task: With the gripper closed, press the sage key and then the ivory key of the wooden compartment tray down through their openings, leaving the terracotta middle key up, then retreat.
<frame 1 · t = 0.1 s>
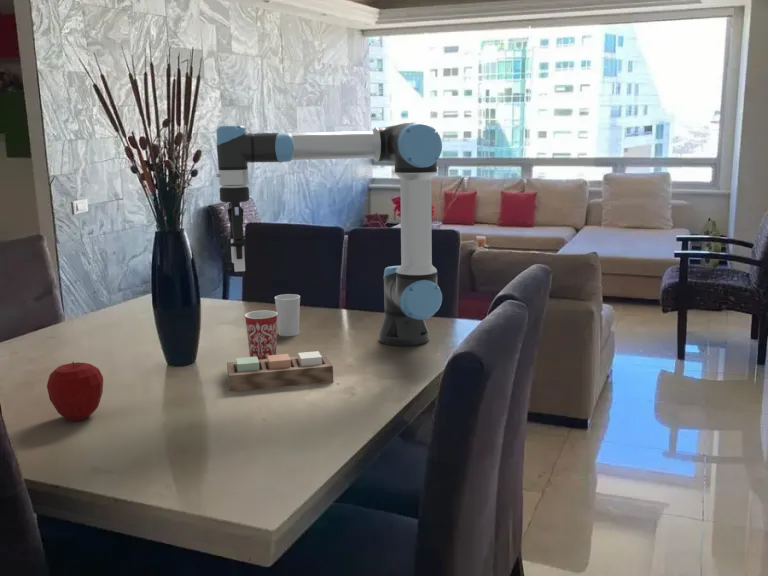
hand: (238, 266, 198), 28 cm above the table, fingers open, 13 cm apart
key terracotta: (279, 364, 192), point 4 cm above the table, slide at 0.0 cm
key sage: (247, 367, 190), point 4 cm above the table, slide at 0.0 cm
cup: (288, 334, 237), on the table
apple: (79, 418, 169), on the table
key ivory: (310, 361, 194), point 4 cm above the table, slide at 0.0 cm
wooden compartment tray: (280, 379, 193), on the table
mug: (264, 359, 211), on the table
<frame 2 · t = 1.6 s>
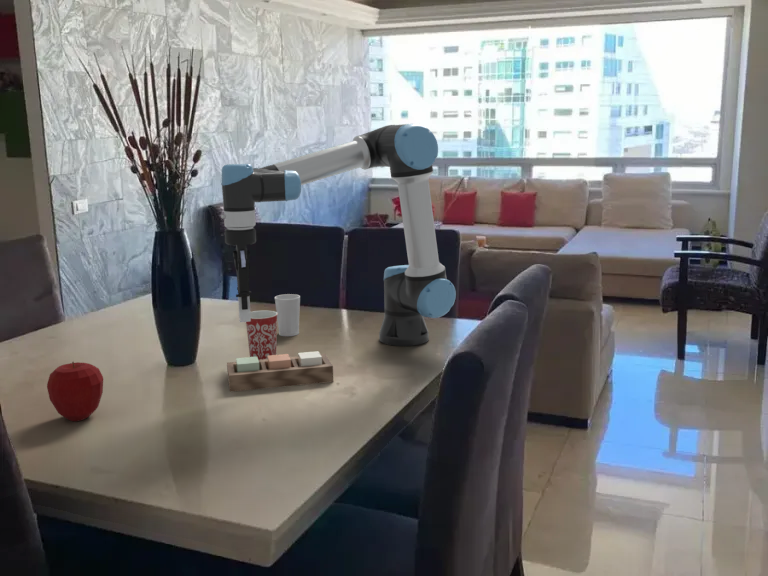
hand: (245, 320, 188), 16 cm above the table, fingers closed
nothing on the table moved.
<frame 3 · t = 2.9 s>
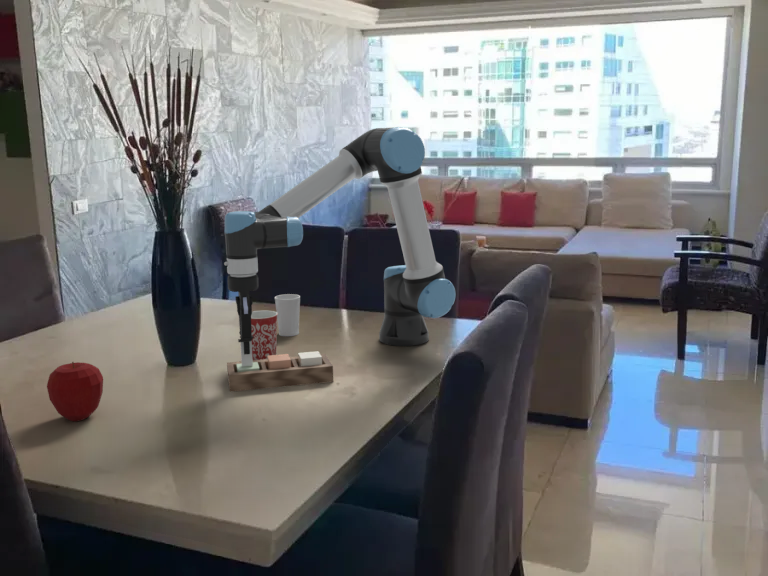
hand: (247, 365, 190), 5 cm above the table, fingers closed
key sage: (248, 372, 190), point 3 cm above the table, slide at -1.5 cm, touching gripper
everything else where it was.
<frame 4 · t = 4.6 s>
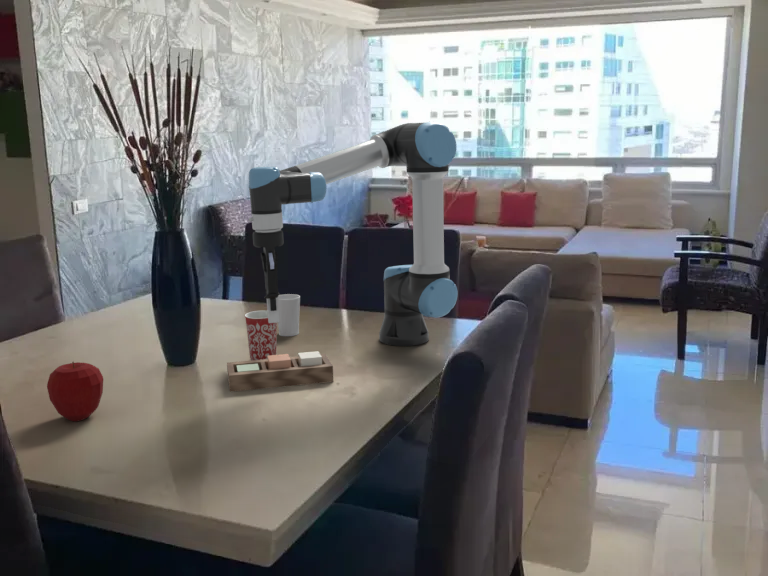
hand: (273, 321, 190), 15 cm above the table, fingers closed
key sage: (248, 374, 190), point 2 cm above the table, slide at -1.9 cm
everything else where it was.
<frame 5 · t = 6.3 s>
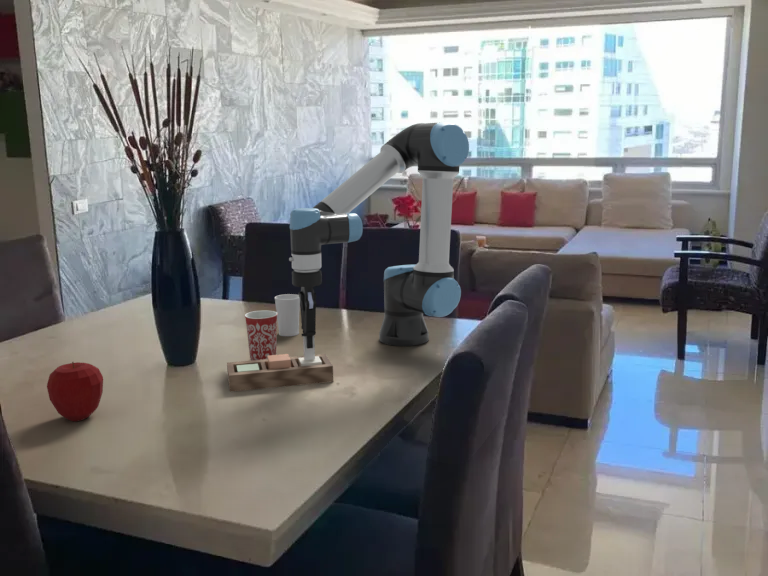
hand: (309, 358, 194), 5 cm above the table, fingers closed
key ivory: (310, 366, 194), point 3 cm above the table, slide at -1.3 cm, touching gripper
everything else where it was.
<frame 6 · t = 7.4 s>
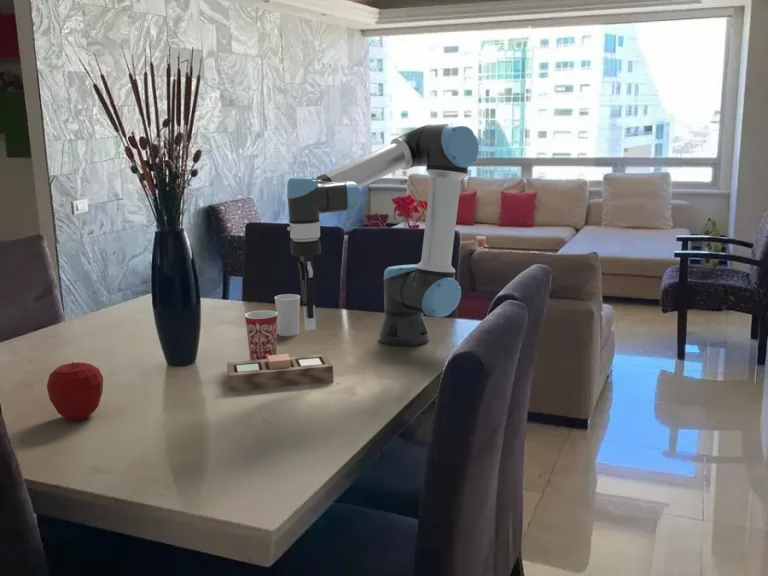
hand: (310, 329, 192), 13 cm above the table, fingers closed
key ivory: (310, 368, 194), point 2 cm above the table, slide at -1.9 cm
everything else where it was.
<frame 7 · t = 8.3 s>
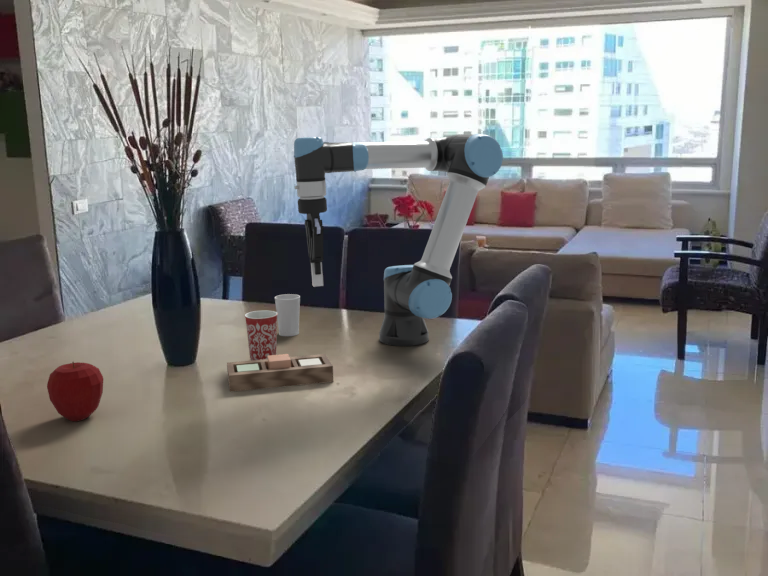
hand: (317, 285, 199), 22 cm above the table, fingers closed
nothing on the table moved.
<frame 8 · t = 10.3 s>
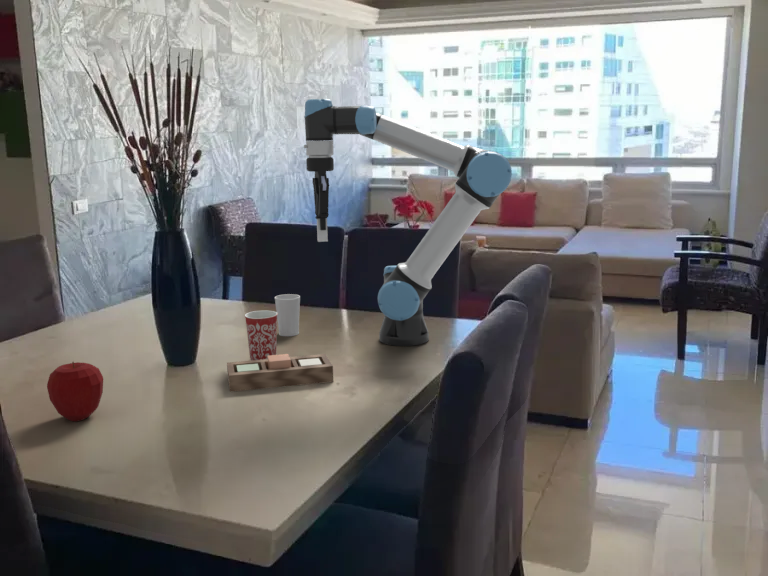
hand: (322, 241, 211), 32 cm above the table, fingers closed
nothing on the table moved.
at the end: key sage slide at -1.9 cm; key ivory slide at -1.9 cm; key terracotta slide at 0.0 cm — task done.
